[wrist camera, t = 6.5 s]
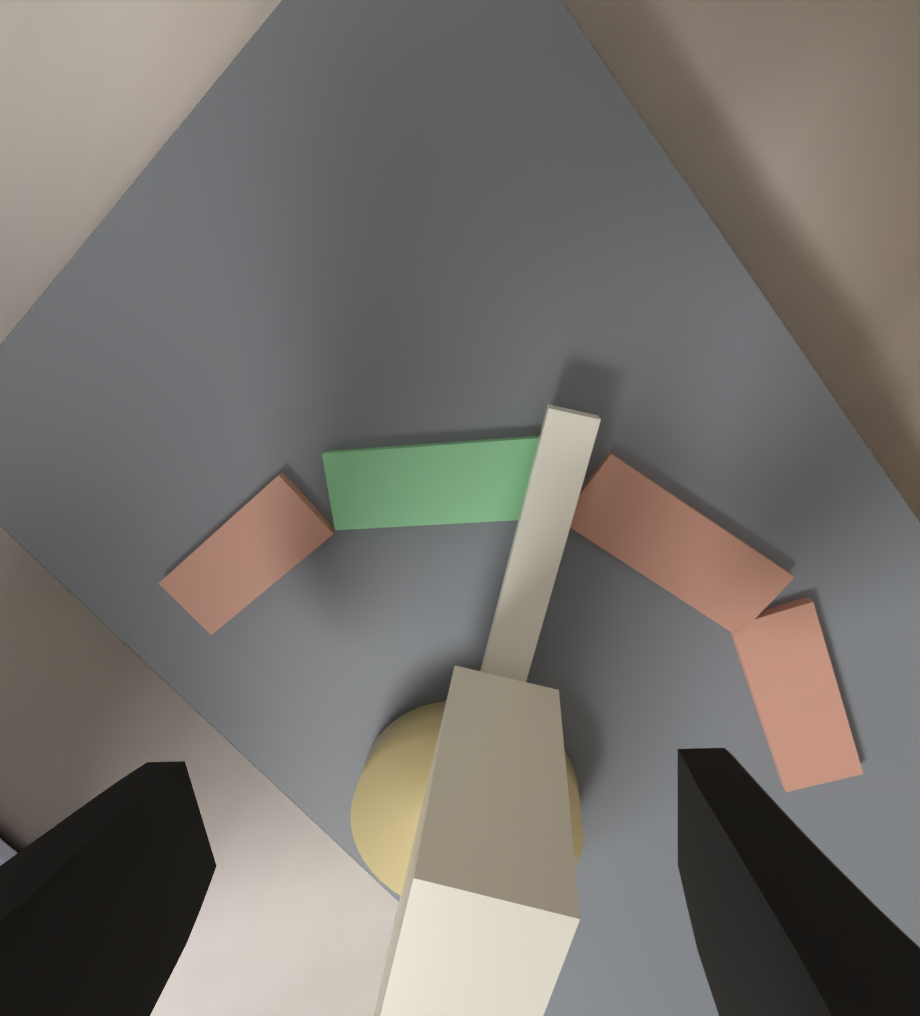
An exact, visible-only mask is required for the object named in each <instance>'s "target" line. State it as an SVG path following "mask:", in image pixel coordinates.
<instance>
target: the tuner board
mask: <svg viewBox="0 0 920 1016" xmlns="http://www.w3.org/2000/svg"><path fill="white" fill-rule="evenodd" d="M548 404H549V405H554V406H558V407H563V408H567V409H572V410H576V411H581V412H585V413H590V414H594V415H598V416H599V418H600V419H601V421H600V424H599V428H598V431H597V435H596V439H595V442H594V446H593V449H592V453H591V456H590V460H589V463H588V467H587V470H586V474H585V477H584V481H583V484H582V488H581V491H580V495H579V498H578V502H577V505H576V509H575V512H574V516H573V519H572V523H571V526H570V530H569V533H568V537H567V540H566V544H565V547H564V551H563V554H562V558H561V561H560V565H559V568H558V572H557V575H556V579H555V582H554V586H553V589H552V593H551V596H550V600H549V603H548V607H547V610H546V614H545V617H544V621H543V624H542V628H541V631H540V635H539V638H538V642H537V645H536V649H535V652H534V656H533V659H532V663H531V666H530V670H529V673H528V677H527V680H526V682H527V683H532V684H536V685H540V686H544V687H549V688H553V689H557V690H559V697H560V708H561V719H562V729H563V740H564V751H565V752H566V754H567V756H568V757H569V759H570V761H571V763H572V765H573V768H574V770H575V773H576V778H577V782H578V789H579V797H580V806H581V815H582V823H583V836H584V837H583V848H582V852H581V856H580V859H579V862H578V864H577V866H576V868H575V869H576V879H577V890H578V901H579V912H580V921H579V924H578V926H577V929H576V932H575V934H574V937H573V939H572V942H571V945H570V947H569V950H568V953H567V955H566V958H565V960H564V963H563V966H562V968H561V971H560V974H559V976H558V979H557V981H556V984H555V987H554V989H553V992H552V994H551V997H550V1000H549V1002H548V1005H547V1008H546V1010H545V1013H544V1015H543V1016H719V1014H718V1011H717V1008H716V1005H715V1002H714V999H713V996H712V993H711V990H710V987H709V984H708V981H707V978H706V975H705V972H704V968H703V965H702V962H701V959H700V956H699V953H698V950H697V946H696V942H695V937H694V933H693V929H692V925H691V921H690V916H689V912H688V908H687V904H686V899H685V895H684V890H683V886H682V881H681V877H680V873H679V868H678V749H693V748H725V749H726V750H728V751H729V752H730V753H731V754H732V755H733V756H734V757H735V758H736V759H737V760H738V761H739V763H740V764H741V765H742V766H743V767H744V768H745V769H746V770H747V772H748V773H749V774H750V775H751V776H752V777H753V778H754V779H755V781H756V782H757V783H758V784H759V785H760V786H761V787H762V788H763V789H764V790H765V792H766V793H767V794H768V795H769V796H770V797H771V798H772V799H773V800H774V801H775V802H776V804H777V805H778V806H779V807H780V808H781V809H782V810H783V811H784V812H785V813H786V814H787V815H788V816H789V818H790V819H791V820H792V821H793V822H794V823H795V824H796V825H797V826H798V827H799V828H800V829H801V830H802V831H803V832H804V833H805V835H806V836H807V837H808V838H809V839H810V840H811V841H812V842H813V843H814V844H815V845H816V846H817V847H818V848H819V849H820V850H821V851H822V852H823V853H824V854H825V855H826V856H827V857H828V858H829V859H830V860H831V861H832V862H833V863H834V864H835V865H836V866H837V867H838V868H839V869H840V870H841V871H842V872H843V873H844V874H845V875H846V876H847V877H848V878H849V879H850V880H851V881H852V882H853V883H854V884H855V885H856V886H857V887H858V888H859V889H860V890H861V891H862V892H863V893H864V894H865V895H866V896H867V897H868V898H869V899H870V900H871V901H872V902H873V903H874V904H875V905H876V906H877V907H878V908H879V909H880V910H881V911H882V912H883V913H884V914H885V915H886V916H887V917H888V918H889V919H890V920H891V921H892V922H893V923H894V924H896V925H897V926H898V927H899V928H900V929H901V930H902V931H903V932H904V933H905V934H906V935H907V936H908V937H909V938H910V939H911V940H912V941H913V942H915V943H916V944H917V945H918V946H919V947H920V522H919V521H918V519H917V518H916V516H915V515H914V513H913V512H912V510H911V509H910V507H909V506H908V505H907V503H906V502H905V500H904V499H903V497H902V496H901V494H900V493H899V491H898V490H897V489H896V487H895V486H894V484H893V483H892V481H891V480H890V478H889V477H888V475H887V474H886V472H885V471H884V470H883V468H882V467H881V465H880V464H879V462H878V461H877V459H876V458H875V456H874V455H873V454H872V452H871V451H870V449H869V448H868V446H867V445H866V443H865V442H864V440H863V439H862V438H861V436H860V435H859V433H858V432H857V430H856V429H855V427H854V426H853V424H852V423H851V422H850V420H849V419H848V417H847V416H846V414H845V413H844V411H843V410H842V408H841V407H840V405H839V404H838V403H837V401H836V400H835V398H834V397H833V395H832V394H831V392H830V391H829V389H828V388H827V387H826V385H825V384H824V382H823V381H822V379H821V378H820V376H819V375H818V373H817V372H816V371H815V369H814V368H813V366H812V365H811V363H810V362H809V360H808V359H807V357H806V356H805V355H804V353H803V352H802V350H801V349H800V347H799V346H798V344H797V343H796V341H795V340H794V338H793V337H792V336H791V334H790V333H789V331H788V330H787V328H786V327H785V325H784V324H783V322H782V321H781V320H780V318H779V317H778V315H777V314H776V312H775V311H774V309H773V308H772V306H771V305H770V304H769V302H768V301H767V299H766V298H765V296H764V295H763V293H762V292H761V290H760V289H759V288H758V286H757V285H756V283H755V282H754V280H753V279H752V277H751V276H750V274H749V273H748V271H747V270H746V269H745V267H744V266H743V264H742V263H741V261H740V260H739V258H738V257H737V255H736V254H735V253H734V251H733V250H732V248H731V247H730V245H729V244H728V242H727V241H726V239H725V238H724V237H723V235H722V234H721V232H720V231H719V229H718V228H717V226H716V225H715V223H714V222H713V221H712V219H711V218H710V216H709V215H708V213H707V212H706V210H705V209H704V207H703V206H702V204H701V203H700V202H699V200H698V199H697V197H696V196H695V194H694V193H693V191H692V190H691V188H690V187H689V186H688V184H687V183H686V181H685V180H684V178H683V177H682V175H681V174H680V172H679V171H678V170H677V168H676V167H675V165H674V164H673V162H672V161H671V159H670V158H669V156H668V155H667V154H666V152H665V151H664V149H663V148H662V146H661V145H660V143H659V142H658V140H657V139H656V137H655V136H654V135H653V133H652V132H651V130H650V129H649V127H648V126H647V124H646V123H645V121H644V120H643V119H642V117H641V116H640V114H639V113H638V111H637V110H636V108H635V107H634V105H633V104H632V103H631V101H630V100H629V98H628V97H627V95H626V94H625V92H624V91H623V89H622V88H621V87H620V85H619V84H618V82H617V81H616V79H615V78H614V76H613V75H612V73H611V72H610V70H609V69H608V68H607V66H606V65H605V63H604V62H603V60H602V59H601V57H600V56H599V54H598V53H597V52H596V50H595V49H594V47H593V46H592V44H591V43H590V41H589V40H588V38H587V37H586V36H585V34H584V33H583V31H582V30H581V28H580V27H579V25H578V24H577V22H576V21H575V20H574V18H573V17H572V15H571V14H570V12H569V11H568V9H567V8H566V6H565V5H564V3H563V2H562V1H561V0H282V1H281V3H280V4H279V5H278V6H277V7H276V9H275V10H274V11H273V12H272V14H271V15H270V16H269V17H268V18H267V20H266V21H265V22H264V23H263V25H262V26H261V27H260V28H259V30H258V31H257V32H256V33H255V34H254V36H253V37H252V38H251V39H250V41H249V42H248V43H247V44H246V45H245V47H244V48H243V49H242V50H241V52H240V53H239V54H238V55H237V56H236V58H235V59H234V60H233V61H232V63H231V64H230V65H229V66H228V68H227V69H226V70H225V71H224V72H223V74H222V75H221V76H220V77H219V79H218V80H217V81H216V82H215V83H214V85H213V86H212V87H211V88H210V90H209V91H208V92H207V93H206V94H205V96H204V97H203V98H202V99H201V101H200V102H199V103H198V104H197V105H196V107H195V108H194V109H193V110H192V112H191V113H190V114H189V115H188V117H187V118H186V119H185V120H184V121H183V123H182V124H181V125H180V126H179V128H178V129H177V130H176V131H175V132H174V134H173V135H172V136H171V137H170V139H169V140H168V141H167V142H166V143H165V145H164V146H163V147H162V148H161V150H160V151H159V152H158V153H157V155H156V156H155V157H154V158H153V159H152V161H151V162H150V163H149V164H148V166H147V167H146V168H145V169H144V170H143V172H142V173H141V174H140V175H139V177H138V178H137V179H136V180H135V181H134V183H133V184H132V185H131V186H130V188H129V189H128V190H127V191H126V193H125V194H124V195H123V196H122V197H121V199H120V200H119V201H118V202H117V204H116V205H115V206H114V207H113V208H112V210H111V211H110V212H109V213H108V215H107V216H106V217H105V218H104V219H103V221H102V222H101V223H100V224H99V226H98V227H97V228H96V229H95V230H94V232H93V233H92V234H91V235H90V237H89V238H88V239H87V240H86V242H85V243H84V244H83V245H82V246H81V248H80V249H79V250H78V251H77V253H76V254H75V255H74V256H73V257H72V259H71V260H70V261H69V262H68V264H67V265H66V266H65V267H64V268H63V270H62V271H61V272H60V273H59V275H58V276H57V277H56V278H55V280H54V281H53V282H52V283H51V284H50V286H49V287H48V288H47V289H46V291H45V292H44V293H43V294H42V295H41V297H40V298H39V299H38V300H37V302H36V303H35V304H34V305H33V306H32V308H31V309H30V310H29V311H28V313H27V314H26V315H25V316H24V318H23V319H22V320H21V321H20V322H19V324H18V325H17V326H16V327H15V329H14V330H13V331H12V332H11V333H10V335H9V336H8V337H7V338H6V340H5V341H4V342H3V343H2V344H1V346H0V526H1V527H2V528H3V529H4V530H5V531H6V532H7V533H8V534H9V535H10V536H11V537H12V538H13V539H14V540H16V541H17V542H18V543H19V544H20V545H21V546H22V547H23V548H24V549H25V550H26V551H27V552H28V553H29V554H30V555H31V556H33V557H34V558H35V559H36V560H37V561H38V562H39V563H40V564H41V565H42V566H43V567H44V568H45V569H46V570H47V571H48V572H49V573H51V574H52V575H53V576H54V577H55V578H56V579H57V580H58V581H59V582H60V583H61V584H62V585H63V586H64V587H65V588H66V589H68V590H69V591H70V592H71V593H72V594H73V595H74V596H75V597H76V598H77V599H78V600H79V601H80V602H81V603H82V604H83V605H84V606H86V607H87V608H88V609H89V610H90V611H91V612H92V613H93V614H94V615H95V616H96V617H97V618H98V619H99V620H100V621H101V622H103V623H104V624H105V625H106V626H107V627H108V628H109V629H110V630H111V631H112V632H113V633H114V634H115V635H116V636H117V637H118V638H119V639H121V640H122V641H123V642H124V643H125V644H126V645H127V646H128V647H129V648H130V649H131V650H132V651H133V652H134V653H135V654H136V655H138V656H139V657H140V658H141V659H142V660H143V661H144V662H145V663H146V664H147V665H148V666H149V667H150V668H151V669H152V670H153V671H154V672H156V673H157V674H158V675H159V676H160V677H161V678H162V679H163V680H164V681H165V682H166V683H167V684H168V685H169V686H170V687H171V688H173V689H174V690H175V691H176V692H177V693H178V694H179V695H180V696H181V697H182V698H183V699H184V700H185V701H186V702H187V703H188V704H189V705H191V706H192V707H193V708H194V709H195V710H196V711H197V712H198V713H199V714H200V715H201V716H202V717H203V718H204V719H205V720H206V721H208V722H209V723H210V724H211V725H212V726H213V727H214V728H215V729H216V730H217V731H218V732H219V733H220V734H221V735H222V736H223V737H224V738H226V739H227V740H228V741H229V742H230V743H231V744H232V745H233V746H234V747H235V748H236V749H237V750H238V751H239V752H240V753H241V754H243V755H244V756H245V757H246V758H247V759H248V760H249V761H250V762H251V763H252V764H253V765H254V766H255V767H256V768H257V769H258V770H259V771H261V772H262V773H263V774H264V775H265V776H266V777H267V778H268V779H269V780H270V781H271V782H272V783H273V784H274V785H275V786H276V787H278V788H279V789H280V790H281V791H282V792H283V793H284V794H285V795H286V796H287V797H288V798H289V799H290V800H291V801H292V802H293V803H294V804H296V805H297V806H298V807H299V808H300V809H301V810H302V811H303V812H304V813H305V814H306V815H307V816H308V817H309V818H310V819H311V820H313V821H314V822H315V823H316V824H317V825H318V826H319V827H320V828H321V829H322V830H323V831H324V832H325V833H326V834H327V835H328V836H329V837H331V838H332V839H333V840H334V841H335V842H336V843H337V844H338V845H339V846H340V847H341V848H342V849H343V850H344V851H345V852H346V853H348V854H349V855H350V856H351V857H352V858H353V859H354V860H355V861H356V862H357V863H358V864H359V865H360V866H361V867H362V868H363V869H364V870H366V871H367V872H368V873H369V874H370V875H371V876H372V877H373V878H374V879H375V880H376V881H377V882H378V883H379V884H380V885H381V886H383V887H384V888H385V889H386V890H387V891H388V892H389V893H390V894H391V895H392V896H393V897H394V898H395V899H396V900H397V901H398V902H399V900H400V895H398V894H397V893H395V892H394V891H392V890H391V889H390V888H388V887H387V886H386V885H385V884H384V883H382V882H381V881H380V880H379V879H378V878H377V877H376V876H375V875H374V873H373V872H372V871H371V870H370V869H369V867H368V866H367V865H366V863H365V862H364V860H363V858H362V857H361V855H360V853H359V851H358V849H357V847H356V844H355V841H354V839H353V834H352V830H351V820H350V813H351V804H352V800H353V797H354V793H355V790H356V787H357V784H358V781H359V779H360V776H361V773H362V770H363V767H364V764H365V761H366V759H367V756H368V753H369V751H370V749H371V747H372V745H373V743H374V742H375V740H376V739H377V737H378V736H379V735H380V734H381V733H382V731H383V730H384V729H385V728H386V727H387V726H388V725H390V724H391V723H392V722H393V721H395V720H396V719H397V718H399V717H400V716H402V715H404V714H406V713H407V712H409V711H412V710H414V709H416V708H419V707H421V706H424V705H428V704H431V703H436V702H442V701H446V700H447V696H448V692H449V688H450V683H451V679H452V675H453V671H454V666H459V667H464V668H468V669H472V670H476V671H480V670H481V666H482V662H483V658H484V654H485V650H486V646H487V642H488V638H489V634H490V630H491V626H492V622H493V618H494V615H495V611H496V607H497V603H498V599H499V595H500V591H501V587H502V583H503V579H504V575H505V571H506V567H507V563H508V559H509V555H510V551H511V547H512V543H513V539H514V535H515V532H516V528H517V524H518V520H519V516H520V512H521V508H522V504H523V500H524V496H525V492H526V488H527V484H528V480H529V476H530V472H531V468H532V464H533V460H534V456H535V452H536V449H537V445H538V441H539V437H540V433H541V429H542V425H543V421H544V417H545V413H546V409H547V405H548Z"/></svg>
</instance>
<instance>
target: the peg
mask: <svg viewBox="0 0 920 1016" xmlns="http://www.w3.org/2000/svg"><path fill="white" fill-rule="evenodd" d="M600 421H601V419H600V418H599V416H598V415H594V414H590V413H585V412H581V411H576V410H572V409H567V408H563V407H558V406H554V405H549V404H548V405H547V409H546V413H545V417H544V421H543V425H542V429H541V433H540V437H539V441H538V445H537V449H536V452H535V456H534V460H533V464H532V468H531V472H530V476H529V480H528V484H527V488H526V492H525V496H524V500H523V504H522V508H521V512H520V516H519V520H518V524H517V528H516V532H515V535H514V539H513V543H512V547H511V551H510V555H509V559H508V563H507V567H506V571H505V575H504V579H503V583H502V587H501V591H500V595H499V599H498V603H497V607H496V611H495V615H494V618H493V622H492V626H491V630H490V634H489V638H488V642H487V646H486V650H485V654H484V658H483V662H482V666H481V670H480V671H476V670H472V669H468V668H464V667H459V666H454V671H453V675H452V679H451V683H450V688H449V692H448V696H447V700H446V701H442V702H436V703H431V704H428V705H424V706H421V707H419V708H416V709H414V710H412V711H409V712H407V713H406V714H404V715H402V716H400V717H399V718H397V719H396V720H395V721H393V722H392V723H391V724H390V725H388V726H387V727H386V728H385V729H384V730H383V731H382V733H381V734H380V735H379V736H378V737H377V739H376V740H375V742H374V743H373V745H372V747H371V749H370V751H369V753H368V756H367V759H366V761H365V764H364V767H363V770H362V773H361V776H360V779H359V781H358V784H357V787H356V790H355V793H354V797H353V800H352V804H351V813H350V820H351V830H352V834H353V839H354V841H355V844H356V847H357V849H358V851H359V853H360V855H361V857H362V858H363V860H364V862H365V863H366V865H367V866H368V867H369V869H370V870H371V871H372V872H373V873H374V875H375V876H376V877H377V878H378V879H379V880H380V881H381V882H382V883H384V884H385V885H386V886H387V887H388V888H390V889H391V890H392V891H394V892H395V893H397V894H398V895H400V900H399V904H398V909H397V913H396V917H395V921H394V926H393V930H392V934H391V938H390V943H389V947H388V951H387V956H386V961H385V966H384V970H383V975H382V980H381V984H380V989H379V994H378V999H377V1003H376V1008H375V1013H374V1016H543V1015H544V1013H545V1010H546V1008H547V1005H548V1002H549V1000H550V997H551V994H552V992H553V989H554V987H555V984H556V981H557V979H558V976H559V974H560V971H561V968H562V966H563V963H564V960H565V958H566V955H567V953H568V950H569V947H570V945H571V942H572V939H573V937H574V934H575V932H576V929H577V926H578V924H579V921H580V912H579V901H578V890H577V879H576V869H575V868H576V866H577V864H578V862H579V859H580V856H581V852H582V848H583V837H584V836H583V823H582V815H581V806H580V797H579V789H578V782H577V778H576V773H575V770H574V768H573V765H572V763H571V761H570V759H569V757H568V756H567V754H566V752H565V751H564V740H563V729H562V719H561V708H560V697H559V690H557V689H553V688H549V687H544V686H540V685H536V684H532V683H527V682H526V680H527V677H528V673H529V670H530V666H531V663H532V659H533V656H534V652H535V649H536V645H537V642H538V638H539V635H540V631H541V628H542V624H543V621H544V617H545V614H546V610H547V607H548V603H549V600H550V596H551V593H552V589H553V586H554V582H555V579H556V575H557V572H558V568H559V565H560V561H561V558H562V554H563V551H564V547H565V544H566V540H567V537H568V533H569V530H570V526H571V523H572V519H573V516H574V512H575V509H576V505H577V502H578V498H579V495H580V491H581V488H582V484H583V481H584V477H585V474H586V470H587V467H588V463H589V460H590V456H591V453H592V449H593V446H594V442H595V439H596V435H597V431H598V428H599V424H600Z"/></svg>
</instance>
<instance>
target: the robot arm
mask: <svg viewBox="0 0 920 1016" xmlns="http://www.w3.org/2000/svg"><path fill="white" fill-rule="evenodd" d="M215 868H216V863H215V860H214V857H213V853H212V850H211V847H210V844H209V840H208V837H207V834H206V830H205V827H204V824H203V820H202V817H201V814H200V811H199V807H198V804H197V801H196V797H195V794H194V791H193V788H192V784H191V781H190V778H189V774H188V771H187V768H186V765H185V761H183V762H147V763H146V764H144V765H143V766H141V767H139V768H138V769H136V770H135V771H133V772H132V773H130V774H129V775H127V776H126V777H124V778H123V779H121V780H120V781H118V782H117V783H115V784H114V785H112V786H111V787H109V788H108V789H107V790H105V791H104V792H102V793H101V794H99V795H98V796H97V797H95V798H94V799H92V800H91V801H90V802H88V803H87V804H85V805H84V806H83V807H81V808H80V809H78V810H77V811H76V812H74V813H73V814H72V815H70V816H69V817H67V818H66V819H65V820H63V821H62V822H60V823H59V824H58V825H56V826H55V827H54V828H52V829H51V830H49V831H48V832H47V833H45V834H44V835H42V836H41V837H40V838H38V839H37V840H35V841H34V842H33V843H31V844H30V845H28V846H27V847H26V848H24V849H23V850H22V851H20V852H19V853H17V852H16V851H15V850H14V849H12V848H11V847H10V846H9V845H8V844H6V843H5V842H4V841H3V840H2V839H0V1016H150V1014H151V1012H152V1010H153V1008H154V1006H155V1004H156V1002H157V1001H158V999H159V997H160V995H161V993H162V991H163V989H164V987H165V985H166V983H167V981H168V979H169V977H170V975H171V973H172V971H173V969H174V967H175V965H176V963H177V961H178V959H179V957H180V955H181V953H182V951H183V949H184V947H185V945H186V943H187V941H188V938H189V936H190V933H191V931H192V929H193V926H194V924H195V921H196V919H197V916H198V914H199V911H200V909H201V906H202V904H203V901H204V898H205V895H206V893H207V890H208V887H209V885H210V882H211V879H212V876H213V874H214V871H215ZM678 868H679V873H680V877H681V881H682V886H683V890H684V895H685V899H686V904H687V908H688V912H689V916H690V921H691V925H692V929H693V933H694V937H695V942H696V946H697V950H698V953H699V956H700V959H701V962H702V965H703V968H704V972H705V975H706V978H707V981H708V984H709V987H710V990H711V993H712V996H713V999H714V1002H715V1005H716V1008H717V1011H718V1014H719V1016H920V947H919V946H918V945H917V944H916V943H915V942H913V941H912V940H911V939H910V938H909V937H908V936H907V935H906V934H905V933H904V932H903V931H902V930H901V929H900V928H899V927H898V926H897V925H896V924H894V923H893V922H892V921H891V920H890V919H889V918H888V917H887V916H886V915H885V914H884V913H883V912H882V911H881V910H880V909H879V908H878V907H877V906H876V905H875V904H874V903H873V902H872V901H871V900H870V899H869V898H868V897H867V896H866V895H865V894H864V893H863V892H862V891H861V890H860V889H859V888H858V887H857V886H856V885H855V884H854V883H853V882H852V881H851V880H850V879H849V878H848V877H847V876H846V875H845V874H844V873H843V872H842V871H841V870H840V869H839V868H838V867H837V866H836V865H835V864H834V863H833V862H832V861H831V860H830V859H829V858H828V857H827V856H826V855H825V854H824V853H823V852H822V851H821V850H820V849H819V848H818V847H817V846H816V845H815V844H814V843H813V842H812V841H811V840H810V839H809V838H808V837H807V836H806V835H805V833H804V832H803V831H802V830H801V829H800V828H799V827H798V826H797V825H796V824H795V823H794V822H793V821H792V820H791V819H790V818H789V816H788V815H787V814H786V813H785V812H784V811H783V810H782V809H781V808H780V807H779V806H778V805H777V804H776V802H775V801H774V800H773V799H772V798H771V797H770V796H769V795H768V794H767V793H766V792H765V790H764V789H763V788H762V787H761V786H760V785H759V784H758V783H757V782H756V781H755V779H754V778H753V777H752V776H751V775H750V774H749V773H748V772H747V770H746V769H745V768H744V767H743V766H742V765H741V764H740V763H739V761H738V760H737V759H736V758H735V757H734V756H733V755H732V754H731V753H730V752H729V751H728V750H726V749H725V748H693V749H678Z"/></svg>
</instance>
